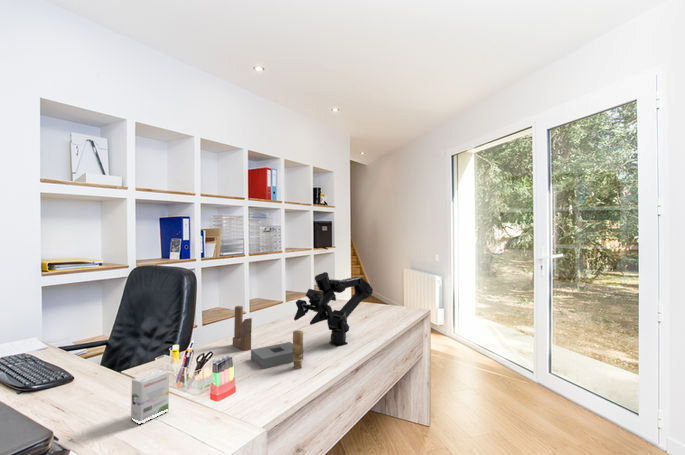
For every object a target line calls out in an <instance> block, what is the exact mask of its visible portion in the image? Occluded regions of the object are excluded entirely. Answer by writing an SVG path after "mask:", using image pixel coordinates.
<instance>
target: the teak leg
mask: <svg viewBox="0 0 685 455" xmlns="http://www.w3.org/2000/svg"><path fill="white" fill-rule="evenodd" d="M292 343H293V361H294V362H293V369H295V370H301V369H302V362H303V360H302V353H303V354H304V331H303V330H300V329H299V330H293V331H292Z"/></svg>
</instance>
